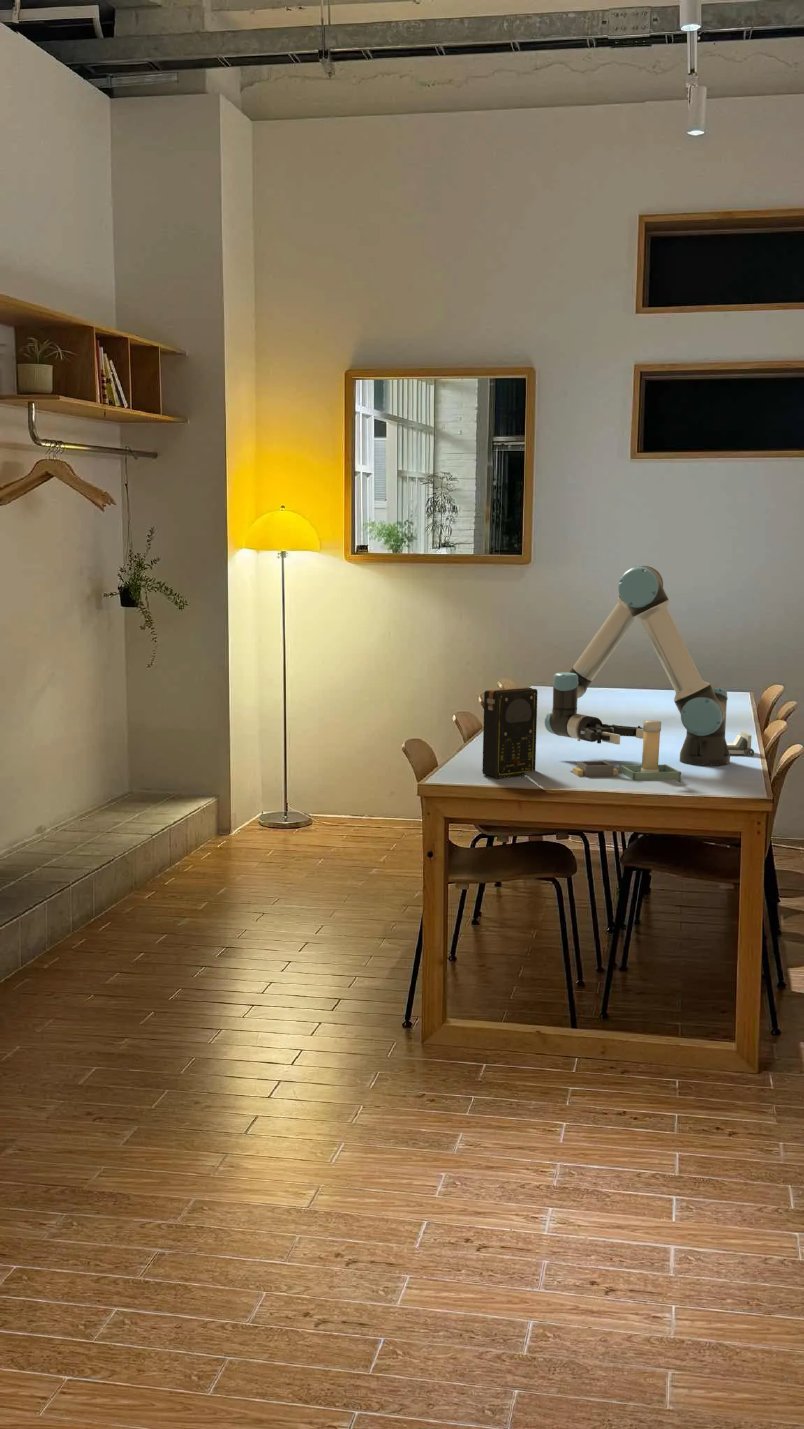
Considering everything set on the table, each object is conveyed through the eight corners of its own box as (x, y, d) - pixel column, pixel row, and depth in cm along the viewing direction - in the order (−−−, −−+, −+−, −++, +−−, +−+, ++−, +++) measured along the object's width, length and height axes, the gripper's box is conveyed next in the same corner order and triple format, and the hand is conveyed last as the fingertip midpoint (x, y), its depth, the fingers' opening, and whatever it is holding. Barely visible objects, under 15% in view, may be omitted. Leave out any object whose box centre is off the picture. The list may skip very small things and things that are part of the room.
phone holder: (698, 726, 418) (691, 720, 429) (697, 756, 419) (690, 750, 431) (755, 727, 417) (747, 721, 429) (754, 757, 419) (745, 751, 430)
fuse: (654, 774, 381) (657, 720, 378) (660, 778, 376) (663, 722, 373) (638, 775, 380) (641, 720, 378) (644, 778, 375) (647, 723, 373)
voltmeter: (497, 779, 374) (499, 692, 370) (478, 775, 380) (480, 688, 377) (538, 774, 383) (541, 688, 379) (519, 769, 390) (521, 685, 386)
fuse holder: (609, 773, 385) (610, 760, 385) (620, 780, 376) (621, 766, 375) (569, 774, 384) (570, 760, 383) (579, 780, 374) (580, 766, 373)
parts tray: (665, 774, 385) (666, 764, 385) (680, 782, 373) (681, 772, 373) (619, 775, 383) (619, 765, 382) (633, 783, 371) (633, 772, 371)
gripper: (615, 737, 406) (666, 747, 389) (554, 743, 392) (604, 754, 375) (616, 713, 405) (667, 721, 388) (555, 718, 391) (605, 728, 374)
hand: (636, 737), depth 381 cm, fingers open, 13 cm apart
